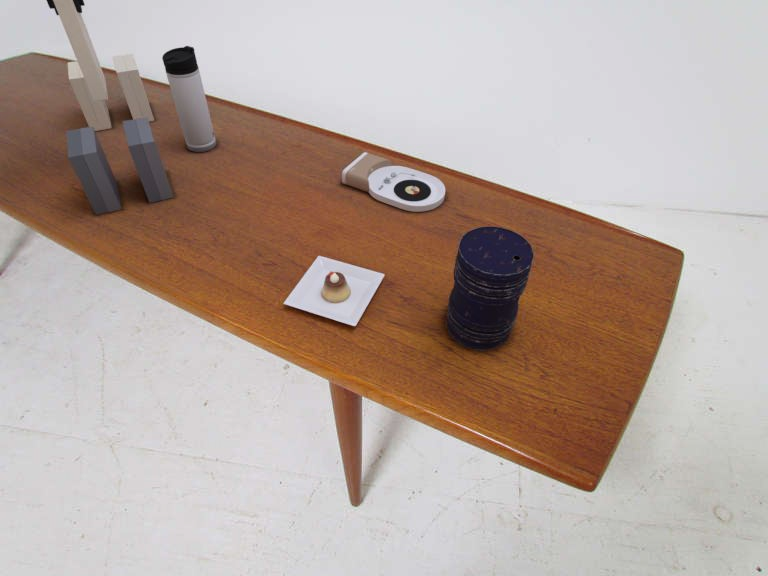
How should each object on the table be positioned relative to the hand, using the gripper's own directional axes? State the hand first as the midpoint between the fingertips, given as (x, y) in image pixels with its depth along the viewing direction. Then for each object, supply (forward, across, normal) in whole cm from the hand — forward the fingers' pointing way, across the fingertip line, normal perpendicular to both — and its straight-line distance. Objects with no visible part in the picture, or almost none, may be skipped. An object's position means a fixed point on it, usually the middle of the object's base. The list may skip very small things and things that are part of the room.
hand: (69, 10), depth 85 cm
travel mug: (+29, -16, -1) cm, 33 cm away
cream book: (+14, 0, 0) cm, 14 cm away
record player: (+29, -48, +31) cm, 64 cm away
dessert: (+29, -27, +54) cm, 67 cm away
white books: (+29, 0, -22) cm, 36 cm away
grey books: (+29, 0, +12) cm, 31 cm away
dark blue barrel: (+29, -44, +69) cm, 86 cm away
